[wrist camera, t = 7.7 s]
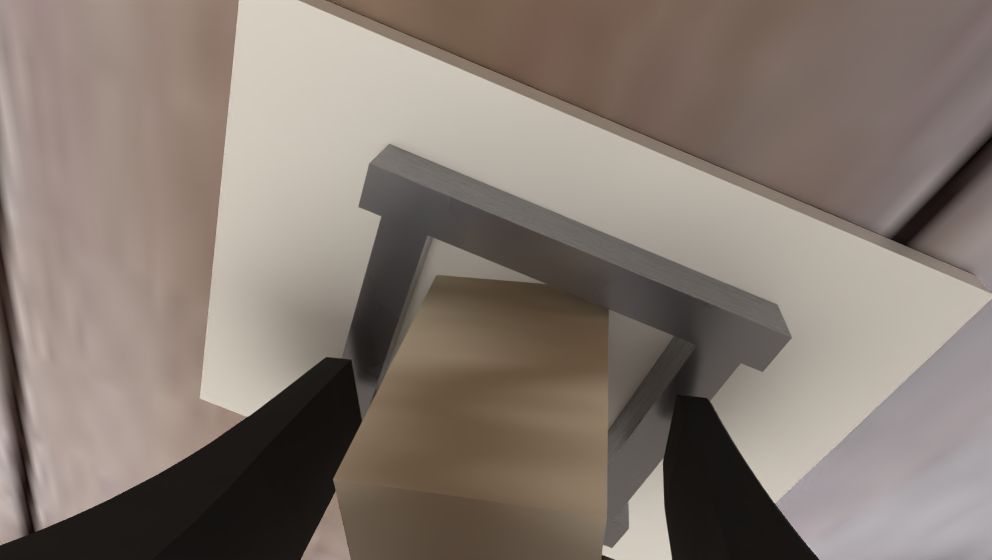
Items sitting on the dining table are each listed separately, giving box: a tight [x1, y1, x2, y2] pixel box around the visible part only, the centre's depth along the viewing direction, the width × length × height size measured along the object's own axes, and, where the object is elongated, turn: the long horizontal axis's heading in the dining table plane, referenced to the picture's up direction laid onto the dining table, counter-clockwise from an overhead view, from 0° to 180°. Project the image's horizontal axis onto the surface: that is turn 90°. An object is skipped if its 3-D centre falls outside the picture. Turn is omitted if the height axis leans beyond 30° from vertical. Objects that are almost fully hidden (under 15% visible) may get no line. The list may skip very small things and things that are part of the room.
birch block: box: [333, 275, 609, 560], centre depth 12 cm, size 4×4×6 cm
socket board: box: [200, 0, 992, 560], centre depth 14 cm, size 16×12×2 cm
